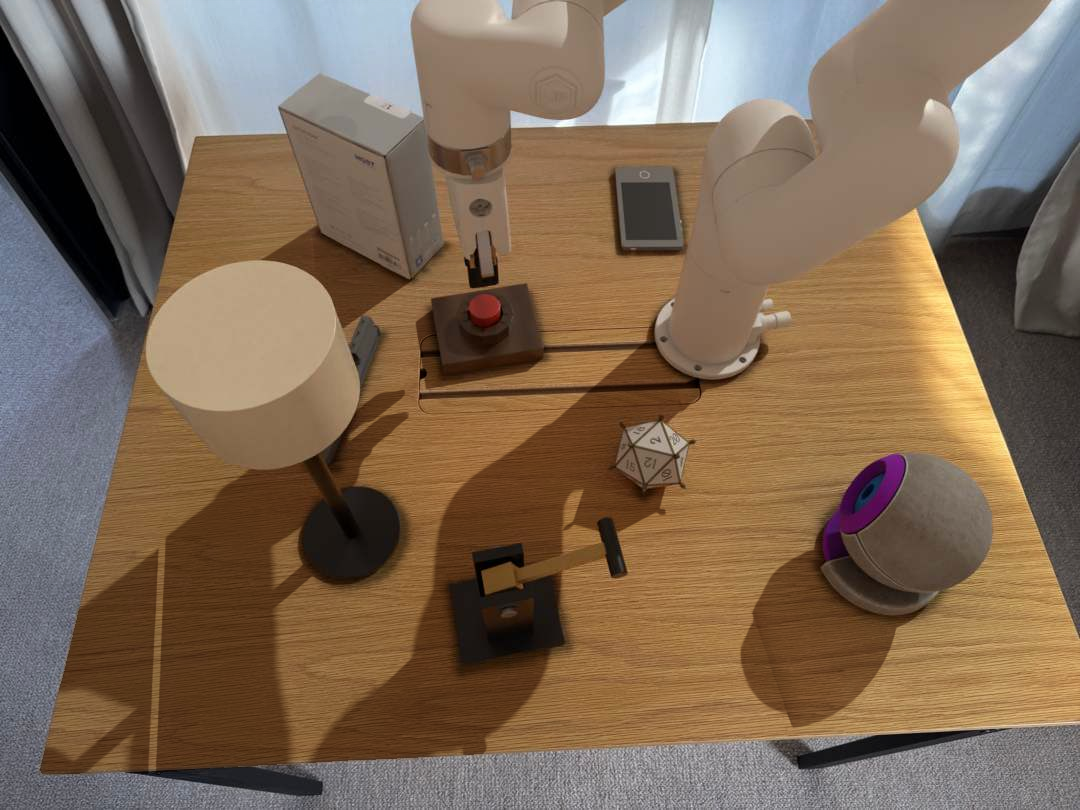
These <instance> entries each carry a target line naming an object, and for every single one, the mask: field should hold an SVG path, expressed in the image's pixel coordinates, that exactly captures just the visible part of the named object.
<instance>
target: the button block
mask: <svg viewBox="0 0 1080 810" xmlns="http://www.w3.org/2000/svg"><path fill="white" fill-rule="evenodd" d="M482 294H488V295H492V296H494V297H495V298H496V299H497V300H498V301H499V303H500V312H501V316H500V319H499V321H498V322H497V323H496V324H495V325H493V326H491V327H479V326H477V325H475V324H474V323H473V322H472V320H471V318H470V311H469V305H470V302H471V301H472V299H473V298H475V297H476V296H478V295H482ZM430 302H431V308H432V314H433V320H434V325H435V331H436V332H435V333H436V337H437V342H438V343H437V344H438V348H439V355H440V360H441V361H440V362H441V367H442V371H443V375H444V376H447V375H453V374H454V375H455V374H458V373H466V372H470V371H477V370H483V369H487V368H494V367H500V366H506V365H511V364H512V365H513V364H517V363H523V362H529V361H536V360H541V359H544V357H545V355H544V352H545V351H544V350H545V347H544V344H543V339H542V335H541V331H540V327H539V324H538V321H537V317H536V313H535V308H534V305H533V301H532V297H531V294H530V290H529V285H528V283H527V282H525V283H518V284H512V285H507V286H501V287H494V288H489V289H488V288H487V289H481V290H476V291H469V292H463V293H462V292H461V293H457V294H450V295H444V296H438V297H432V298H430Z"/></svg>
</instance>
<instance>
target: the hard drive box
mask: <svg viewBox="0 0 1080 810" xmlns="http://www.w3.org/2000/svg"><path fill="white" fill-rule="evenodd" d="M277 108H278V109H277V110H278V112H279V115H280V117H281V121H282V124H283V127H284V129H285V132H286V135H287V138H288V141H289V144H290V147H291V151H292V154H293V155H294V158H295V161H296V164H297V167H298V170H299V173H300V176H301V179H302V182H303V186H304V187H305V191H306V194H307V196H308V199H309V202H310V206H311V208H312V211H313V214H314V218H315V219H316V223H317V226H318V228H319V231H320V233H321V234H323V235H325V236H327V237H328V238H330V239H331V240H333V241H335V242H337V243H339V244H341V245H342V246H344V247H347V248H349V249H351V250H352V251H355V252H357V253H358V254H360V255H362V256H363V257H366V258H368V259H369V260H372V261H373V262H375V263H377V264H379V265H381V266H382V267H384V268H386V269H387V270H389V271H391V272H394V273H395V274H397V275H399V276H402V277H403V278H405V279H407V280H411V279H413V278H414V277H415V276H416V275H417V274H418V273H419V272H420V271H421V270H422V269H423V268H424V267H425V266H426V264H427V263H428V262H429V261H430V260H431V259H432V258H433V257H434V256H435V255H436V254H437V253H438V252H439V251H440V249H441V248H442V247H443V246H444V245H445V242H444V235H443V229H442V223H441V217H440V216H441V215H440V210H439V204H438V203H439V202H438V198H437V197H438V196H437V191H436V184H435V178H434V172H433V166H432V165H433V164H432V162H431V160H430V157H429V151H428V143H427V136H426V130H425V124H424V117H423V115H419V114H417V113H415V112H413V111H411V110H408V109H406V108H403V107H402V106H399V105H397V104H394V103H392V102H390V101H388V100H386V99H383V98H380V97H378V96H376V95H374V94H371V93H369V92H366V91H364V90H362V89H359V88H357V87H355V86H352V85H350V84H348V83H345V82H343V81H340V80H338V79H336V78H334V77H331V76H329V75H328V74H325V73H322V72H319V73H318V74H316V75H315V76H314V77H313V78H311V79H310V80H309V81H308V82H306V83H305V84H304V85H302V87H300V88H299V89H298V90H297V91H295V92H294V93H292V94H291V95H290V96H289V97H288V98H286V99H285V100H284V101H283V102H281V103H280V104H279V105H278V106H277Z"/></svg>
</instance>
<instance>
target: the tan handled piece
mask: <svg viewBox="0 0 1080 810" xmlns="http://www.w3.org/2000/svg"><path fill="white" fill-rule="evenodd" d="M596 526H597V530H598V533H599V534H598V535H599V537H600V540H601V542H598V543H595V544H591V545H588V546H586V547H583V548H582V547H581V548H579V549H576V550H573V551H570V552H566V553H564V554H560V555H557V556H554V557H551V558H548V559H543V560H541V561H538V562H535V563H532V564H528V565H524V567H521V568H518V567H517V566H516V565H514V564H513V563H512V562H508V563H505V564H502V565H498V566H495V567H492V568H489V569H486V570H482V571H481V573H482V578H483V584H484V590H485V595H486V596H488V595H493V594H498V593H503V592H508V591H513V590H518V589H522V588H523V583H526V582H529V581H532V580H535V579H538V578H542V577H545V576H548V575H550V576H552V575H554V574H557V573H561V572H564V571H567V570H570V569H574V568H577V567H580V566H584V565H586V564H590V563H593V562H597V561H600V560H603V559H605V560H606V564H607V568H608V571H609V574H610V575H609V576H610V578H611V579H613V580H614V579H615V580H617V579H621V578H624V577H626V576H627V575H628V574H629V571H628V569H627V568H628V567H627V564H626V561H625V558H624V554H623V551H622V547H621V543H620V540H619V537H618V536H619V535H618V532H617V529H616V525H615V522H614V518H613V517H610V516H606V517H602V518H599V519H598V520H597V521H596Z"/></svg>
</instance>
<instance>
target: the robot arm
mask: <svg viewBox="0 0 1080 810" xmlns="http://www.w3.org/2000/svg"><path fill="white" fill-rule="evenodd" d="M627 1H628V0H512V6H511V8H512V9H511V16H510V17H511V19H510V18H508V17H507V15H506V13H505V11H504V8H503V7H502V4H500V2H499V1H498V0H419V1H418V3H417V4H416V6H415V7H414V9H413V12H412V13H411V18H410V36H411V44H412V50H413V56H414V63H415V70H416V75H417V83H418V90H419V95H420V103H421V111H422V117H424V124H425V130H426V136H427V143H428V151H429V157H430V160H431V164H432V165H433V167H434V168H435V169H436V170H438V171H439V172H440V173H442V174H443V175H444V176H445V182H446V188H447V193H448V199H449V204H450V209H451V213H452V218H453V220H454V225H455V229H456V233H457V236H458V240H459V244H460V247H461V250H462V251H461V252H462V255H463V261H464V266H465V267H466V269H467V271H466V272H467V278H468V279H467V280H468V286H469V288H470V289H472V290H473V289H479V288H488V287H492V286H496V285H499V284H500V280H499V279H500V278H499V261H498V256H497V253H498V255H499V256H501V257H503V256H509V255H510V253H511V252H512V240H511V239H512V238H511V230H510V229H511V228H510V218H509V205H508V194H507V186H506V178H505V169H504V168H505V167H506V165H508V163H509V161H510V159H511V156H512V149H513V148H512V120H511V118H512V117H511V116H512V115H511V112H516V113H519V114H523V115H526V116H531V117H534V118H539V119H544V120H552V121H567V120H573V119H577V118H580V117H582V116H584V115H586V114H587V113H588V112H591V110H592V109H593V108H594V107H595V106H596V105H597V103H598V102H599V100H600V99H601V96H602V94H603V91H604V88H605V79H606V61H605V60H606V59H605V57H606V56H605V28H604V27H605V26H604V17H606V16H607V15H609V14H610V13H611V12H613V11H614V10H615V9H617V8H618V7H620V6H621V5H623V4H624V3H626V2H627ZM1052 1H1053V0H886V1H884V3H882V4H881V5H880V6H878V7H877V8H876V9H875V10H874V11H872V12H871V13H870V14H869V15H867V16H866V17H865V18H864V19H863V20H862V21H860V22H859V23H858V24H857V25H855V26H854V27H853V28H852V29H850V31H848V32H847V33H846V34H845V35H843V36H842V37H841V38H840V39H839V40H838V41H836V42H835V43H834V44H833V45H832V46H830V47H829V49H828V50H826V51H825V52H824V53H823V54H822V56H821V57H820V58H819V59H818V60H817V61H816V62H815V64H814V66H813V67H812V69H811V71H810V75H809V78H808V82H807V96H808V97H807V98H808V105H809V109H810V115H811V120H812V124H813V128H814V132H815V137H816V140H817V144H818V150H819V152H820V153H819V155H818V150H817V147H816V142H815V141H814V140H815V139H814V137H813V134H812V131H811V130H810V126H808V123H807V122H806V120H805V119H804V117H803V116H802V115H801V113H799V111H798V110H797V109H795V108H794V107H793V106H792V105H790V104H788V103H787V102H784V101H782V100H779V99H774V98H767V97H766V98H755V99H751V100H748V101H745V102H743V103H741V104H739V105H737V106H735V107H734V108H732V109H731V110H729V111H728V112H727V113H726V114H725V115H724V116H723V117H722V118H721V119H720V121H719V122H718V123H716V124H717V125H716V126H715V128H714V129H713V131H712V133H711V134H710V137H709V139H708V142H707V144H706V146H705V151H704V156H703V160H702V166H701V173H700V174H701V175H700V184H699V191H698V198H697V205H696V210H695V211H696V212H695V214H694V221H693V224H692V228H691V233H690V236H689V239H688V244H687V249H686V252H685V256H684V260H683V264H682V268H681V272H680V276H679V279H678V285H677V288H676V292H675V296H674V297H673V298H672V299H671V300H670V301H668V302H666V304H665V305H664V306H663V307H662V308H661V310H660V311H659V312H658V314H657V318H656V321H655V325H654V333H653V334H654V341H655V345H656V347H657V350H658V351H659V353H660V355H661V356H662V357H663V359H664V360H665V361H666V362H667V363H668V364H669V365H670V366H672V367H673V368H674V369H676V370H678V371H680V372H681V373H682V374H685V375H687V376H690V377H693V378H696V379H701V380H710V381H711V380H712V381H713V380H714V381H715V380H723V379H727V378H732V377H734V376H736V375H738V374H740V373H743V371H745V370H746V369H747V368H748V367H749V366H750V365H751V364H752V362H753V361H754V359H755V357H756V356H757V354H758V351H759V349H760V344H761V335H762V334H766V333H767V330H768V331H769V330H773V329H774V330H778V329H782V328H783V329H784V328H789V327H791V325H792V315H791V313H790V312H789V310H784V311H778V312H772V313H771V314H764V313H763V312H767V311H772V310H773V309H774V302H773V299H772V298H766V296H767V294H768V292H769V289H770V286H773V285H778V284H784V283H787V282H790V281H793V280H795V279H798V278H800V277H802V276H804V275H807V274H808V273H811V272H813V271H815V270H817V269H819V268H820V267H822V266H823V265H825V264H826V263H828V262H830V261H832V260H834V259H835V258H837V257H838V256H840V255H842V254H843V253H845V252H847V251H848V250H850V249H852V248H853V247H855V246H857V245H858V244H860V243H862V242H864V241H865V240H867V239H868V238H870V237H872V236H874V235H876V233H879V231H882V230H883V229H884V228H886V227H888V226H889V225H891V224H893V223H895V222H897V221H899V219H901V218H903V217H904V216H906V215H908V214H909V213H910V212H912V211H914V210H915V209H916V208H918V207H920V206H921V205H922V204H923V203H924V202H926V201H928V199H929V198H930V197H932V196H933V195H934V194H935V193H936V192H937V191H938V189H939V188H940V187H941V186H942V185H943V184H944V183H945V181H946V180H947V178H948V177H949V175H950V174H951V172H952V171H953V169H954V166H955V164H956V162H957V158H958V155H959V150H960V133H959V132H960V131H959V125H958V122H957V119H956V117H955V114H954V111H953V109H952V106H951V104H950V101H949V99H948V97H949V95H950V94H951V93H952V91H954V90H955V88H957V87H958V86H959V85H960V84H962V83H963V82H964V81H965V80H967V79H968V78H969V77H971V76H972V75H973V74H974V73H976V72H977V71H978V70H981V68H983V66H985V65H987V64H988V63H989V62H990V61H992V60H993V59H994V58H995V57H997V56H998V55H999V54H1000V53H1002V52H1003V51H1005V50H1006V49H1008V47H1010V46H1011V45H1013V43H1014V42H1016V41H1017V40H1018V39H1019V38H1021V36H1022V35H1024V34H1025V33H1026V32H1027V31H1028V30H1029V29H1030V27H1031V26H1033V24H1034V23H1035V22H1037V20H1038V19H1039V18H1040V16H1041V15H1042V14H1043V13H1044V12H1045V11H1046V9H1047V8H1048V7H1049V5H1050V4H1051V2H1052Z"/></svg>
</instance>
